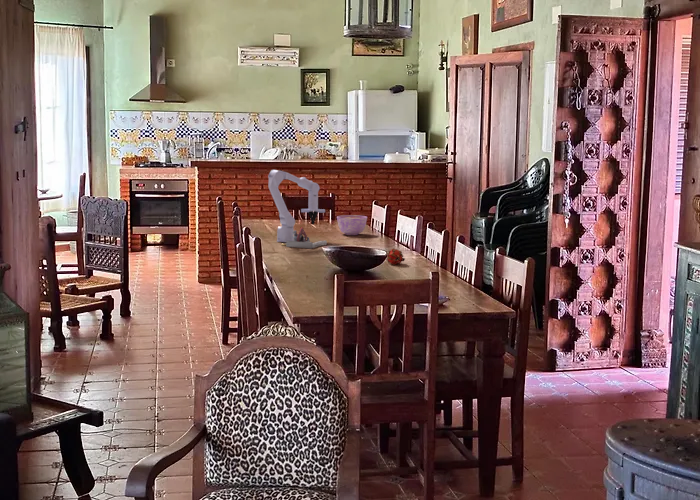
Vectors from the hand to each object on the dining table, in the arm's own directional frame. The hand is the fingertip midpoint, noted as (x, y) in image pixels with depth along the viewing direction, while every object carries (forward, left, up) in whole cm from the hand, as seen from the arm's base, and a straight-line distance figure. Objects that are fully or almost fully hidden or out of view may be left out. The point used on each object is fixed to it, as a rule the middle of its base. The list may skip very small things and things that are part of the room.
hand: (313, 224), depth 522 cm
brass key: (-5, -27, -10) cm, 29 cm away
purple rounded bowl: (+11, +37, -10) cm, 40 cm away
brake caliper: (+4, -26, -10) cm, 28 cm away
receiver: (+6, -24, -10) cm, 26 cm away
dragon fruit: (+75, -63, -10) cm, 98 cm away
